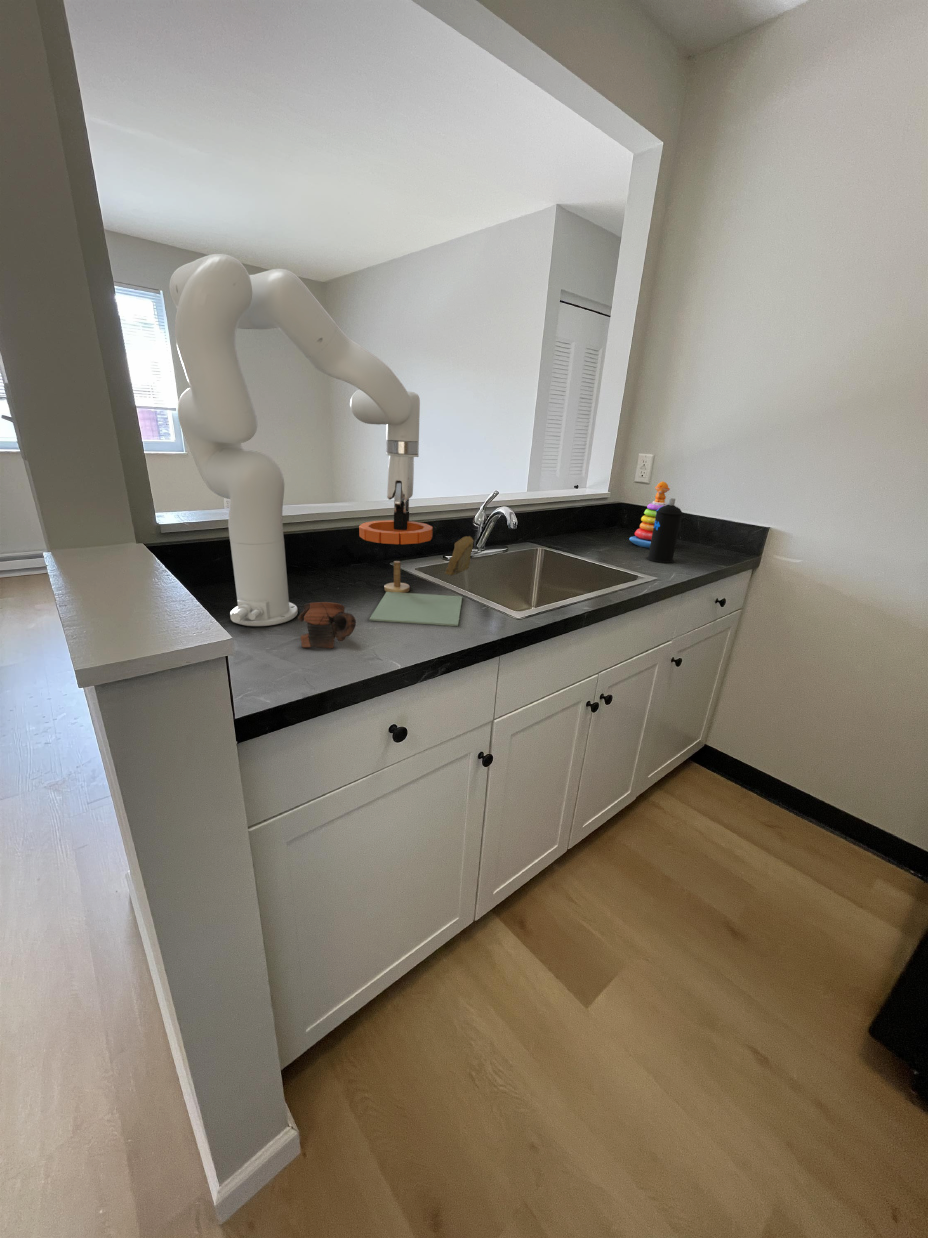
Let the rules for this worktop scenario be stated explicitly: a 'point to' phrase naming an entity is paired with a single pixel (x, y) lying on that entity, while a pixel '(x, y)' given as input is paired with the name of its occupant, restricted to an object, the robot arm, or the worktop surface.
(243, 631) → the worktop surface
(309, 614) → the pottery mug
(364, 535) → the ring
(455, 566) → the rock
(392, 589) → the wooden peg disc
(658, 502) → the stacking toy
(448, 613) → the mat
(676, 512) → the aerosol can
